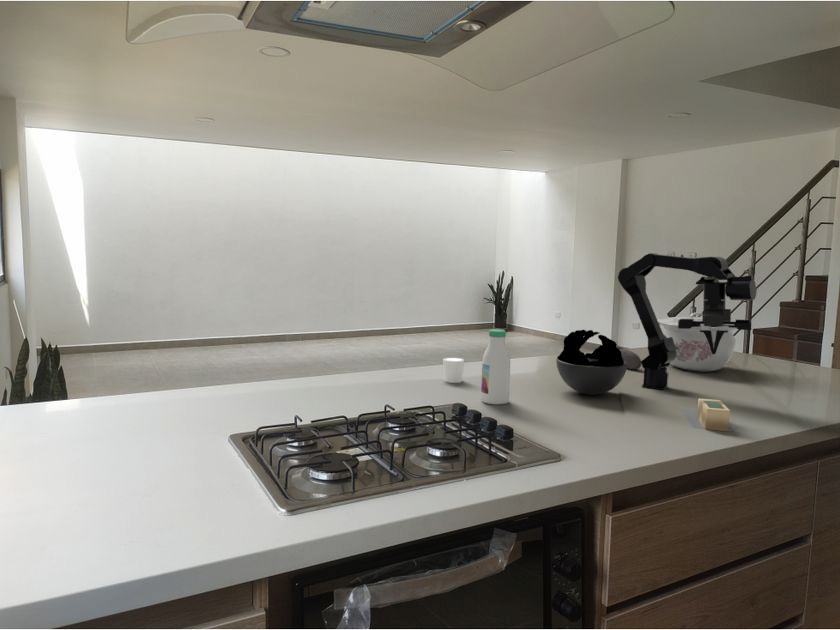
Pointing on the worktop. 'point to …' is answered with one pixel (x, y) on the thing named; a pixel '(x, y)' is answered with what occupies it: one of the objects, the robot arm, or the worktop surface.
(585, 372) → the coal bowl
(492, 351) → the milk bottle
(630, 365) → the perforated stone tool
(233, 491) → the worktop surface
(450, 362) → the white cup
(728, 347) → the chamber pot
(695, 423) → the slate mat
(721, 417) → the letter block
